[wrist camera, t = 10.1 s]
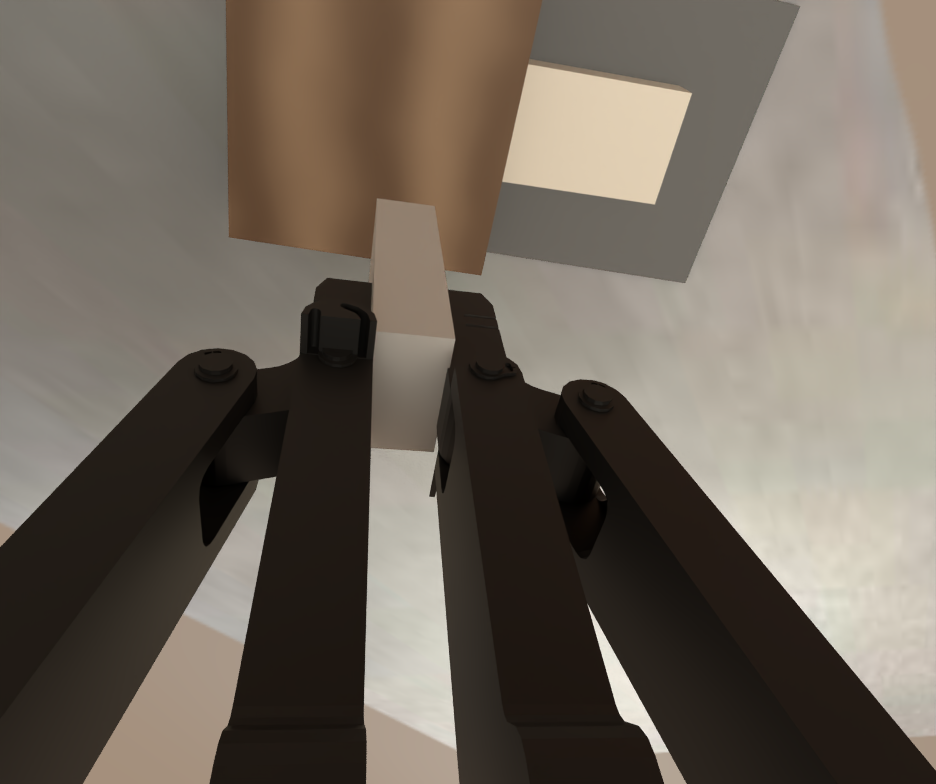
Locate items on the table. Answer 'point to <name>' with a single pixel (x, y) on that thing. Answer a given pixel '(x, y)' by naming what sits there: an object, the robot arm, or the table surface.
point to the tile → (594, 132)
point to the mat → (698, 143)
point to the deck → (372, 117)
